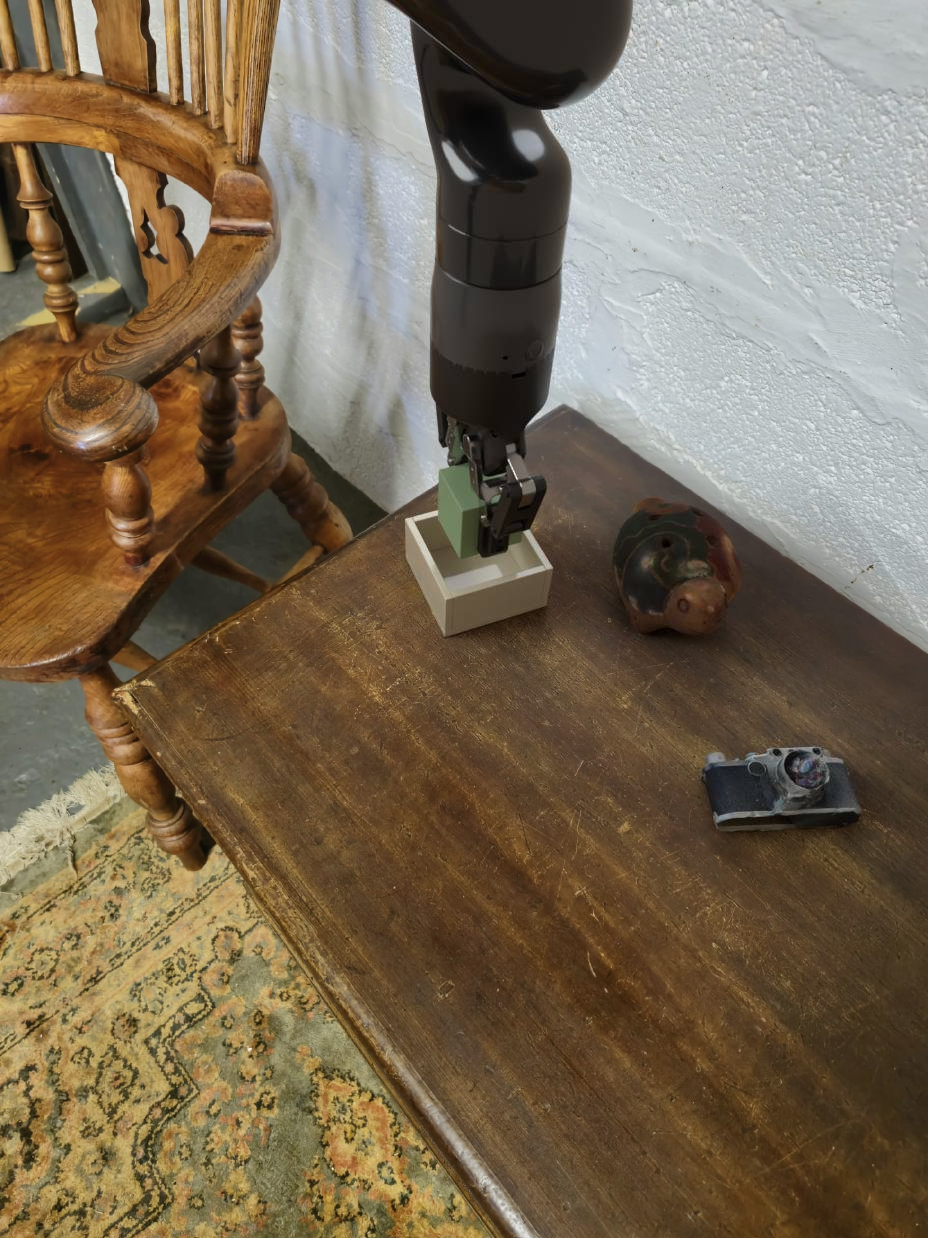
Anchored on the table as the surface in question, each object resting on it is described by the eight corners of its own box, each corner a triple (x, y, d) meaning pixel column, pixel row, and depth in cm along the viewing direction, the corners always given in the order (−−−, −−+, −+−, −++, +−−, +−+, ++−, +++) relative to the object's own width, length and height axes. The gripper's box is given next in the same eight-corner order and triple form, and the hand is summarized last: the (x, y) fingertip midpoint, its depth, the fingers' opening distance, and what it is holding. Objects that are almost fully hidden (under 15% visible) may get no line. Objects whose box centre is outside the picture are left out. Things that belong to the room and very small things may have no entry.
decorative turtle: (639, 687, 63) (655, 617, 57) (580, 547, 72) (588, 474, 66) (763, 665, 64) (791, 593, 58) (688, 530, 73) (705, 456, 67)
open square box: (444, 637, 65) (445, 600, 61) (405, 557, 70) (404, 518, 66) (546, 606, 67) (553, 568, 63) (502, 531, 72) (506, 491, 68)
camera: (690, 764, 59) (707, 733, 56) (834, 760, 60) (859, 730, 56) (706, 832, 56) (725, 805, 52) (858, 828, 56) (886, 801, 53)
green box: (459, 560, 62) (462, 511, 58) (437, 518, 64) (438, 469, 60) (521, 542, 63) (528, 493, 59) (497, 502, 66) (502, 453, 62)
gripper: (392, 276, 53) (399, 478, 66) (482, 415, 45) (469, 613, 58) (502, 255, 55) (486, 456, 68) (606, 386, 47) (566, 583, 60)
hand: (478, 527), depth 63 cm, fingers closed on green box, 4 cm apart
